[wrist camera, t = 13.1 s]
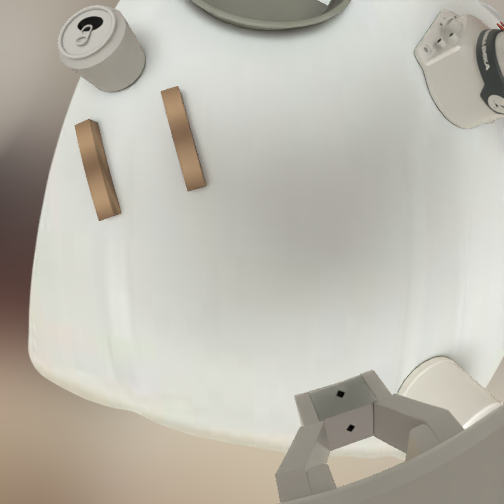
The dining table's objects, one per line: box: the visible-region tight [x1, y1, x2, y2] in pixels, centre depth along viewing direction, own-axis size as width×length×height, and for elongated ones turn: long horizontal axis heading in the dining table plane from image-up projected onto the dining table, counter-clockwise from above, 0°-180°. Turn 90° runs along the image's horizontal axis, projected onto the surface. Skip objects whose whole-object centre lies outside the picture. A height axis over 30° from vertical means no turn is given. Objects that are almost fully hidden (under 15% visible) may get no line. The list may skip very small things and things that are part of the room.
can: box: [58, 5, 145, 92], centre depth 26 cm, size 8×8×12 cm
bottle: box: [398, 356, 502, 429], centre depth 35 cm, size 14×14×28 cm
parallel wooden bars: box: [75, 86, 206, 221], centre depth 33 cm, size 12×13×3 cm
